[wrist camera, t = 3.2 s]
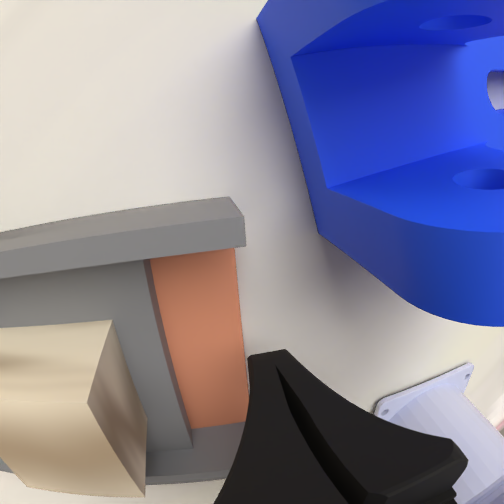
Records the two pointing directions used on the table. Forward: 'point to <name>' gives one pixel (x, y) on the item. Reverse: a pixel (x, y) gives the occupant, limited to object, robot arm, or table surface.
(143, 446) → the block
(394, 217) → the bracket
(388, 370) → the table surface
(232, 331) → the box
